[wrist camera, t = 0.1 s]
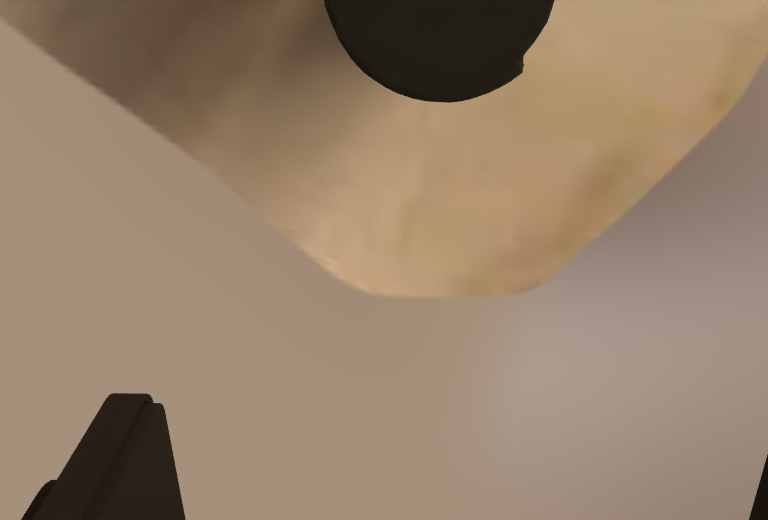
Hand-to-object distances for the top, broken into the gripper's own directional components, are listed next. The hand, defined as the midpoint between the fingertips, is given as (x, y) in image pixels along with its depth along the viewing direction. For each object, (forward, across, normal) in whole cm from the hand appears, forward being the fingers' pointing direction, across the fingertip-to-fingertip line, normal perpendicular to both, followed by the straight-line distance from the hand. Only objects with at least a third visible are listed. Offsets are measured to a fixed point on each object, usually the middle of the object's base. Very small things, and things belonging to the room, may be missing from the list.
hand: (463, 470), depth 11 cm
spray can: (+31, 0, -6) cm, 32 cm away
